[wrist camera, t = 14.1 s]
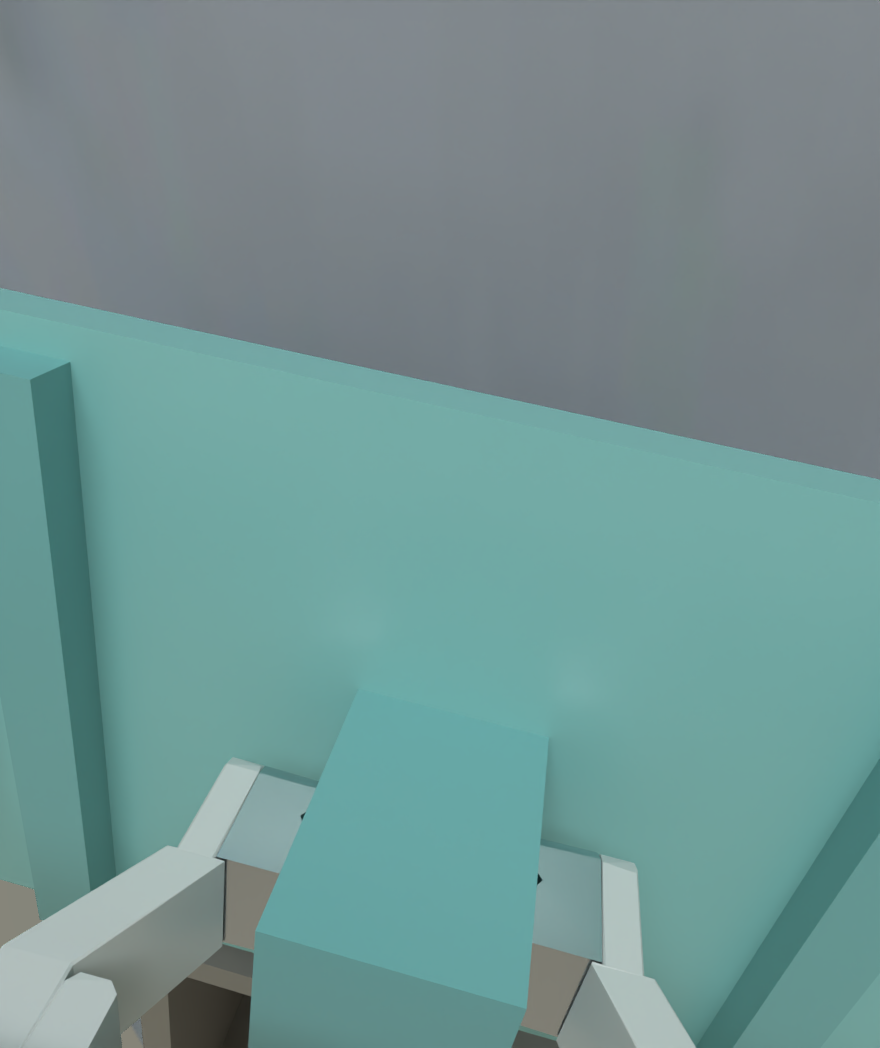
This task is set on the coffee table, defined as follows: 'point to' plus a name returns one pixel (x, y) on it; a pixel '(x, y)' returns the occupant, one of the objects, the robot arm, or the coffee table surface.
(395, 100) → the coffee table surface
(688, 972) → the lid
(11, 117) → the coffee table surface
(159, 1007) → the tub
